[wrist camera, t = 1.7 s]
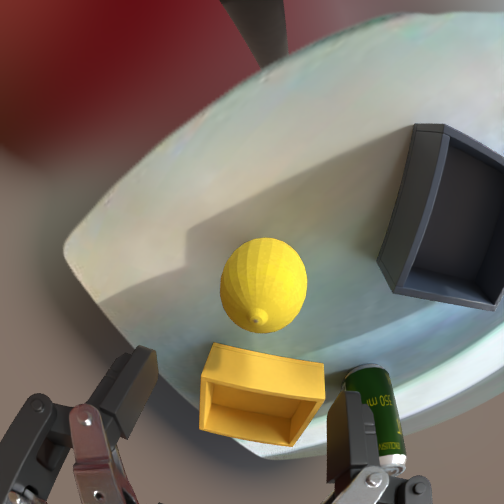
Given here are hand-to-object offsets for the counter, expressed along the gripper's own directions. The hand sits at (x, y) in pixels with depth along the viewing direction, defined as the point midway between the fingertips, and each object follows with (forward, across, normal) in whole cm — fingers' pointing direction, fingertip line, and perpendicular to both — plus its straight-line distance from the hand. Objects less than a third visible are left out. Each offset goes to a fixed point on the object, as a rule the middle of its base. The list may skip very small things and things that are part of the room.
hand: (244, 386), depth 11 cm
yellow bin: (+12, -2, +16) cm, 20 cm away
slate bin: (+12, -14, -7) cm, 20 cm away
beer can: (+13, -13, +12) cm, 21 cm away
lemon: (+12, 0, 0) cm, 12 cm away
